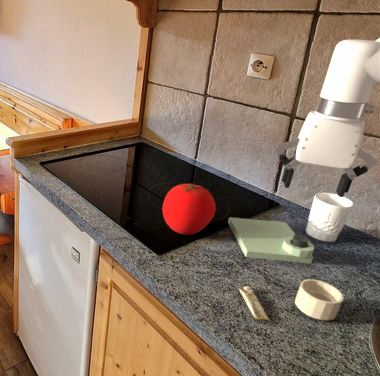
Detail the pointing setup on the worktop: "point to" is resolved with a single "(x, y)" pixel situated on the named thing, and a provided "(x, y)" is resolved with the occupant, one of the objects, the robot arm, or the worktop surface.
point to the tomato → (188, 208)
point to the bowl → (318, 299)
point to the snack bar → (253, 303)
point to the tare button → (299, 241)
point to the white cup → (328, 216)
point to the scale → (269, 240)
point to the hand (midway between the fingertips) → (312, 189)
